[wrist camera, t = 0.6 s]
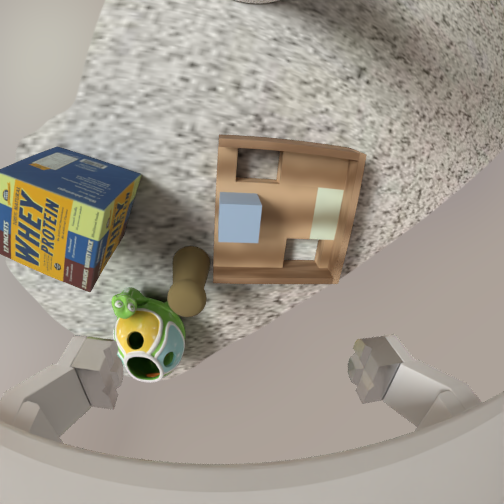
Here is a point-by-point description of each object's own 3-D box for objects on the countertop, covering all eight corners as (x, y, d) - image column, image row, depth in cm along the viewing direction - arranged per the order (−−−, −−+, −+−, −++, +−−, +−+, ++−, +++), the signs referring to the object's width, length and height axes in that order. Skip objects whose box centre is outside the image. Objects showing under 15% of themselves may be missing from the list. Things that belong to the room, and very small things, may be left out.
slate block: (219, 191, 39) (220, 203, 34) (256, 193, 40) (262, 205, 35) (218, 226, 41) (218, 242, 37) (253, 227, 42) (258, 243, 37)
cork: (177, 241, 44) (167, 281, 35) (215, 252, 46) (215, 293, 36) (169, 273, 47) (159, 317, 37) (204, 283, 48) (202, 328, 39)
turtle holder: (166, 262, 46) (154, 309, 35) (194, 341, 55) (192, 391, 44) (100, 273, 45) (76, 318, 35) (136, 348, 54) (126, 395, 44)
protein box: (125, 235, 43) (91, 294, 29) (44, 206, 39) (-9, 251, 25) (143, 173, 39) (106, 210, 25) (56, 144, 34) (-7, 170, 21)
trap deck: (219, 134, 38) (219, 138, 33) (349, 147, 40) (366, 154, 35) (213, 263, 47) (213, 283, 42) (327, 265, 49) (338, 283, 44)
